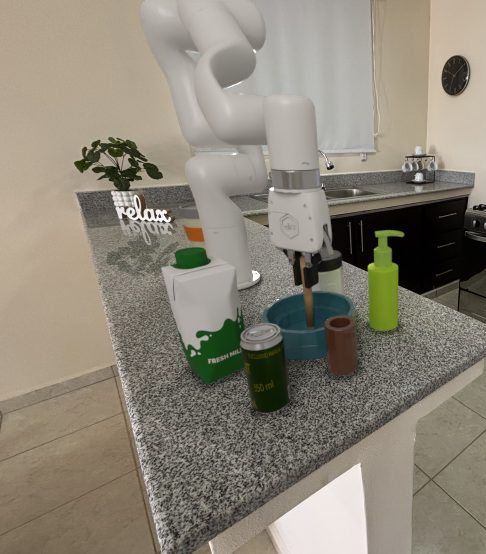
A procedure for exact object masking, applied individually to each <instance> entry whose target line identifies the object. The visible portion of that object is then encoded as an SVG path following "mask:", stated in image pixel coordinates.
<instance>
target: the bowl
mask: <svg viewBox="0 0 486 554" xmlns="http://www.w3.org/2000/svg"><path fill="white" fill-rule="evenodd" d="M312 295H313V305H314V316H315V328H314V329H313V330H309V329H308V328H307V324H306V314H305V305H304V295H303V291H302V292H297V293H293V294H288V295H287V296H283V297H280V298H279V299H276V300H275V301H272V302H271V303H270V304H268V305H267V306H266V307H265V308H264V309H263V311H262V314H261V316H260V317H261V324H263V323H271V324H275V325H277V326H279V327H280V331H281V333H282V334H283V339H284V346H285V354H286V360H296V361H307V360H316V359H321V358H324V357H327V352H326V340H325V328H324V324H325V321H326V320H328V319H329V318H331V317H334V316H339V315H346V316H350V317H352V318H354V319H355V320H356V307H355V304H354V301H353V300H352V299H350V297H348V296H346V295H345V294H344V295H345V296H344V295H341V294H338V293H334V292H326V291H312Z"/></svg>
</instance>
